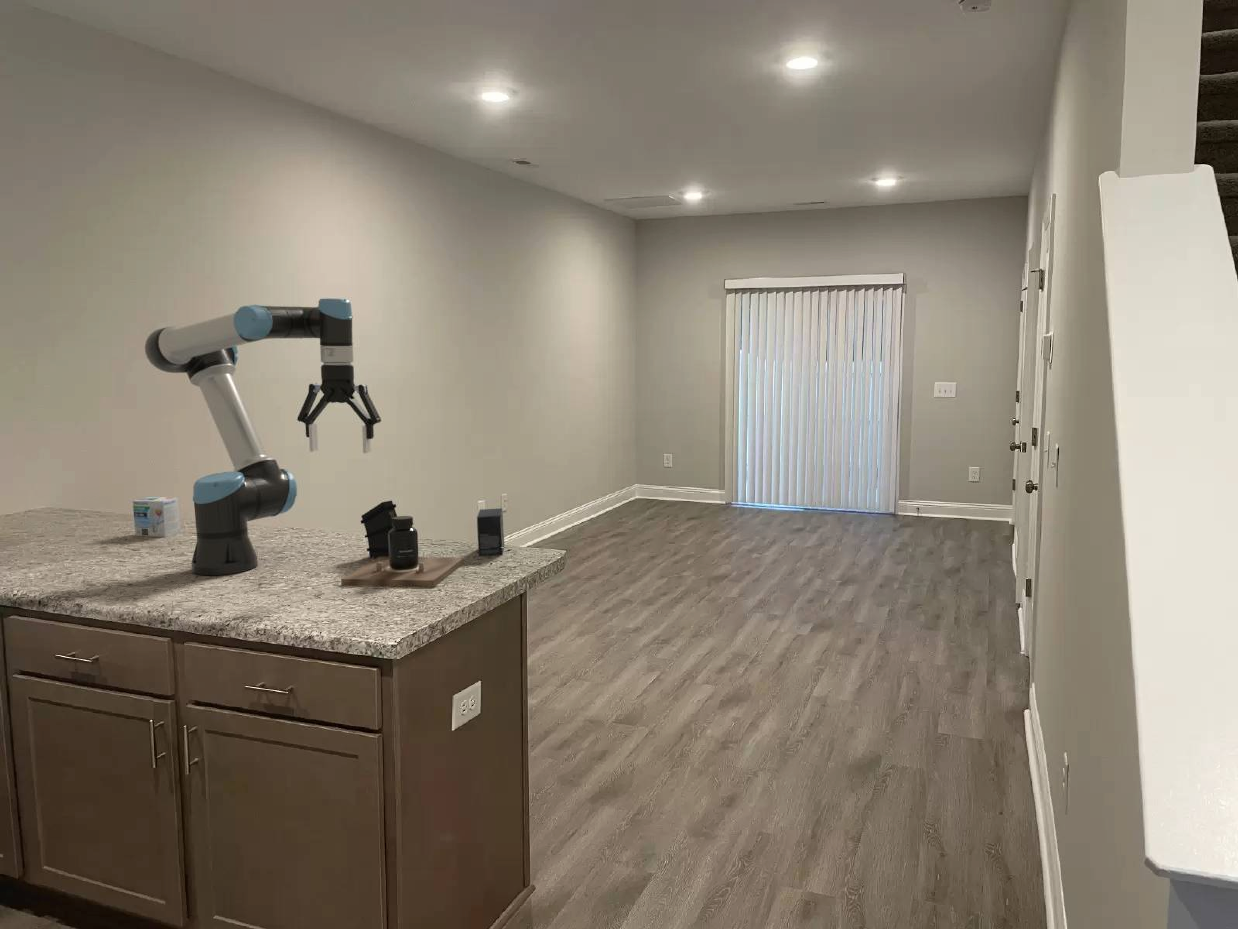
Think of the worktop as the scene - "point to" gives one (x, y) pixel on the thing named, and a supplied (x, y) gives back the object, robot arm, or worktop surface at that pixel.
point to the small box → (490, 532)
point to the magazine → (379, 528)
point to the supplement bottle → (403, 544)
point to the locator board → (403, 573)
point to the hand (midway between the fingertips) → (340, 451)
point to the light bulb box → (156, 516)
